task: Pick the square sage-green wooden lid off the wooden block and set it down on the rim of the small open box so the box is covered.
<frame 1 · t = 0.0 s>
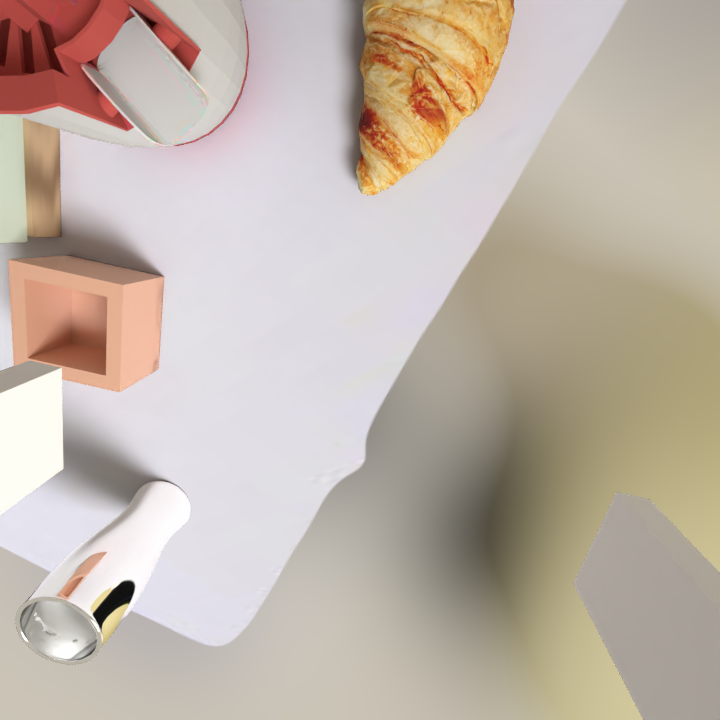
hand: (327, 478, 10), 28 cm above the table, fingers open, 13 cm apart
beer glass: (164, 503, 45), on the table
citrus juicer: (184, 68, 32), on the table
open box: (114, 314, 39), on the table
croissant: (425, 60, 31), on the table
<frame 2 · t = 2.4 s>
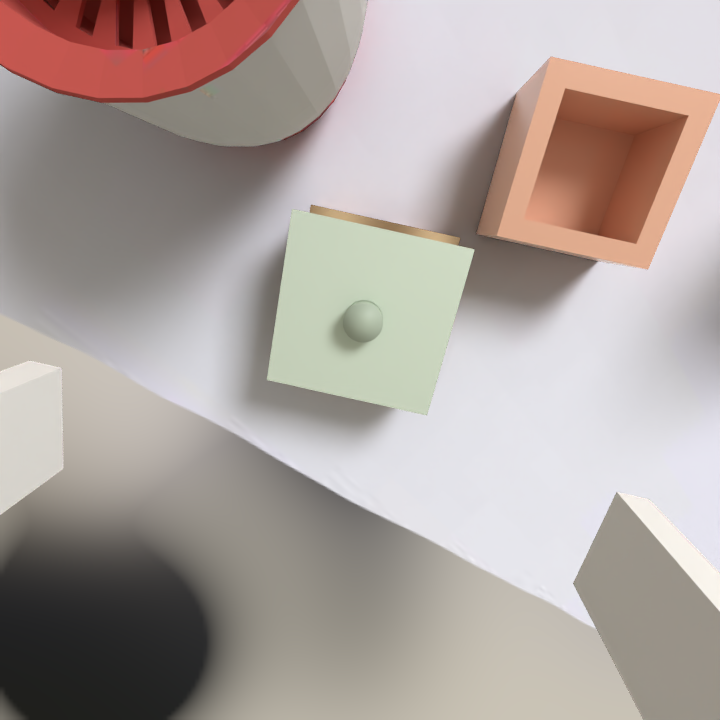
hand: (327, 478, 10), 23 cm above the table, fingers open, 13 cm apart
wooden block: (368, 302, 32), on the table
lid: (366, 310, 29), point 3 cm above the table, touching wooden block
citrus juicer: (270, 30, 27), on the table
open box: (559, 181, 28), on the table
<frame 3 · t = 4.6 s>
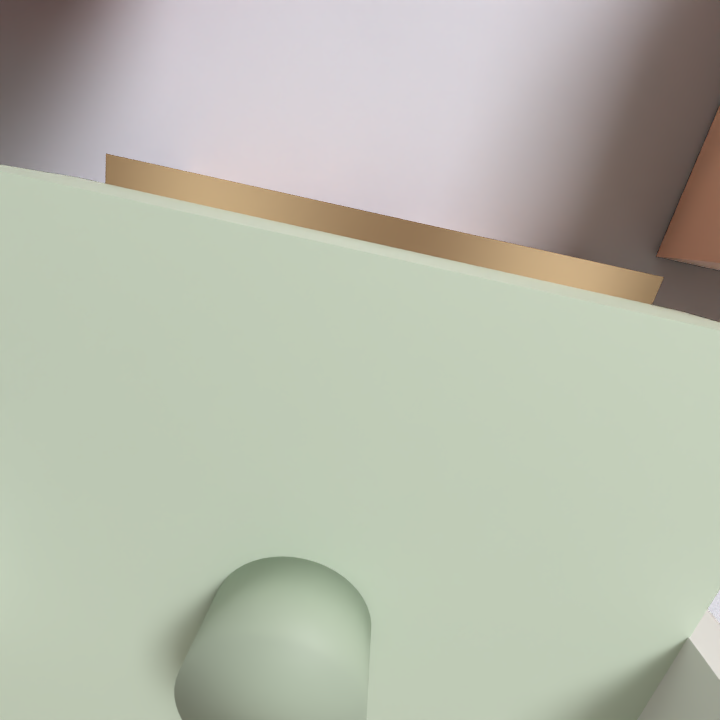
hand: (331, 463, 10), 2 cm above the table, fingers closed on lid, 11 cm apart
wooden block: (339, 434, 12), on the table
lid: (322, 498, 9), point 3 cm above the table, touching gripper, wooden block
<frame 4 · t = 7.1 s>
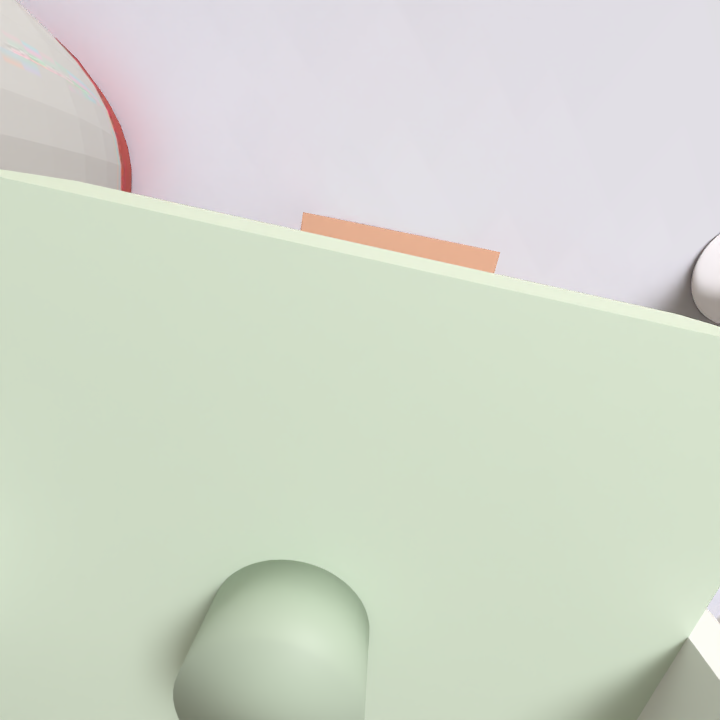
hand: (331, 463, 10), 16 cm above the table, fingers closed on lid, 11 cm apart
lid: (321, 500, 9), point 18 cm above the table, touching gripper
citrus juicer: (51, 151, 24), on the table
open box: (382, 306, 26), on the table
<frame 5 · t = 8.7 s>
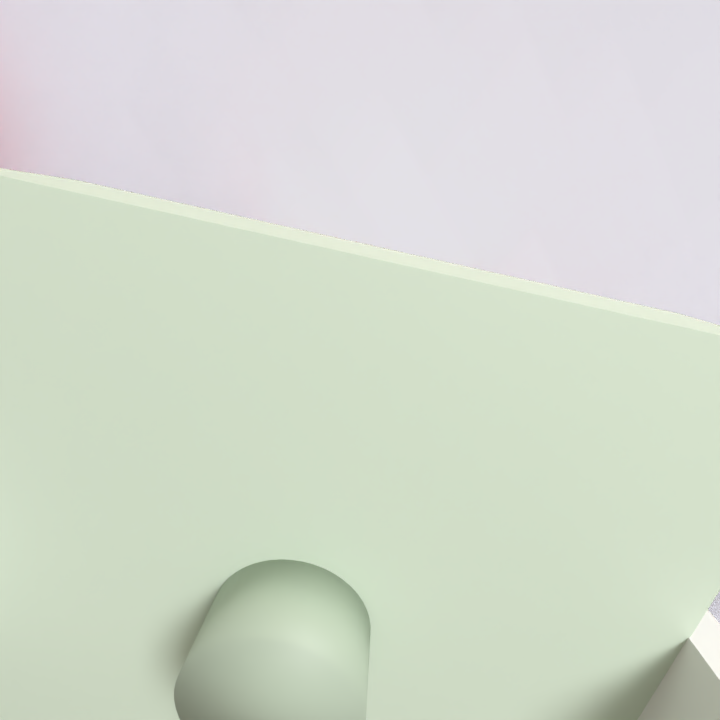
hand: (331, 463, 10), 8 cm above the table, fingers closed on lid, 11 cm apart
lid: (322, 500, 9), point 9 cm above the table, touching gripper
when the fingers open (6 cm above the table, at t = 9.7 s): lid drops 1 cm, resting on open box.
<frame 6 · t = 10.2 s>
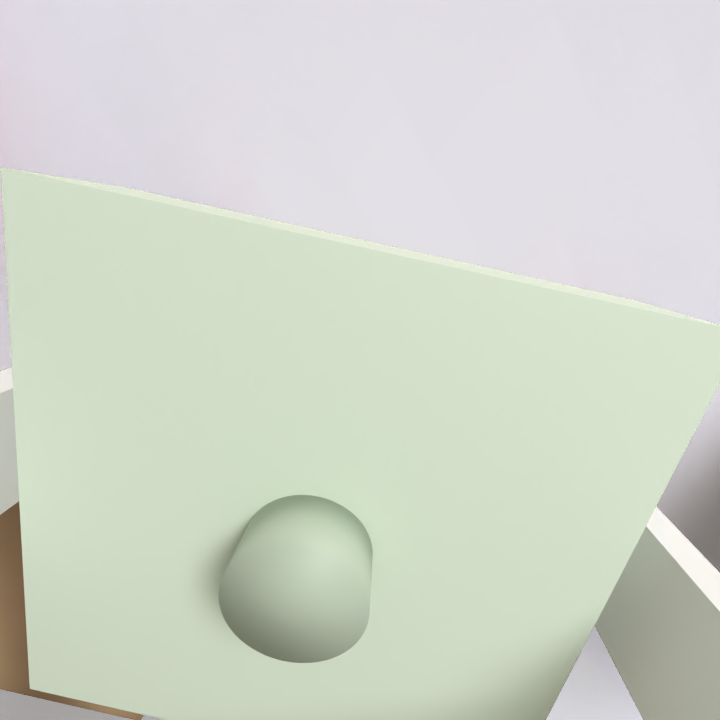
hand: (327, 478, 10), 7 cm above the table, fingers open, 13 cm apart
wooden block: (79, 542, 20), on the table
lid: (330, 463, 11), point 6 cm above the table, touching open box
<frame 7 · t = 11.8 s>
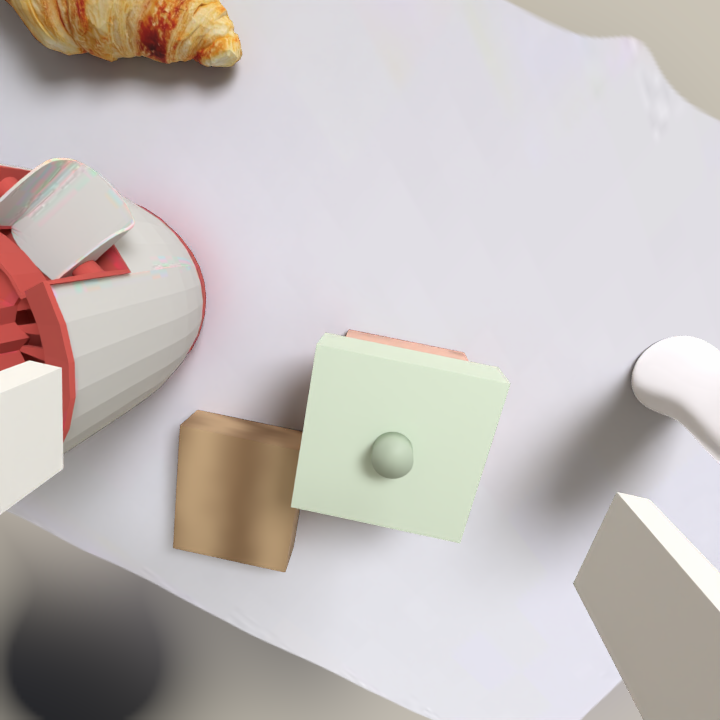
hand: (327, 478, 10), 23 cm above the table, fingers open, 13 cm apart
wooden block: (247, 481, 37), on the table
lid: (393, 427, 28), point 6 cm above the table, touching open box
beer glass: (671, 373, 31), on the table
citrus juicer: (145, 281, 33), on the table
open box: (394, 394, 33), on the table
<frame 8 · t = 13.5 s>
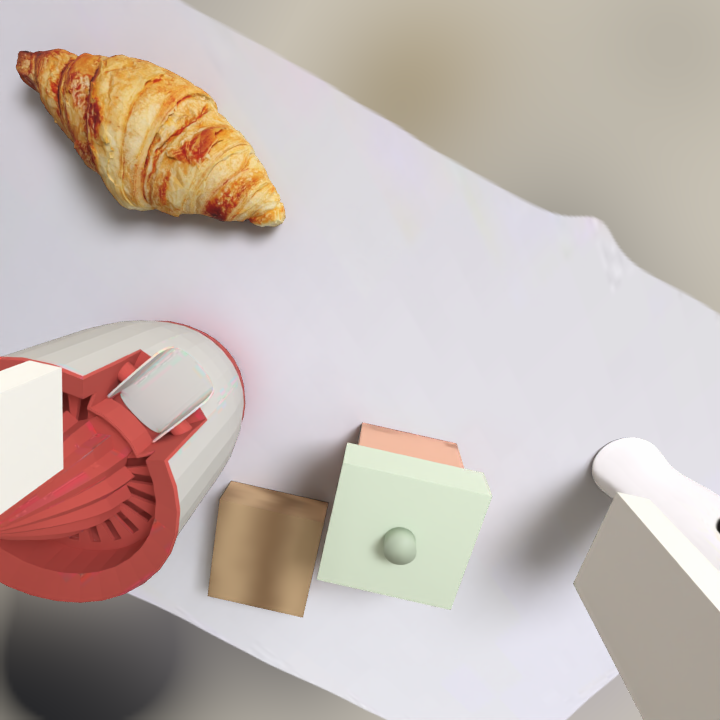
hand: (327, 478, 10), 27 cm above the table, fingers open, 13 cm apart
wooden block: (271, 539, 44), on the table
lid: (399, 514, 34), point 6 cm above the table, touching open box
beer glass: (624, 465, 38), on the table
citrus juicer: (192, 378, 39), on the table
open box: (398, 473, 40), on the table
croissant: (173, 152, 33), on the table
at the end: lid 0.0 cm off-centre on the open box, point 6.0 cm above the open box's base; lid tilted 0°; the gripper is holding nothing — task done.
